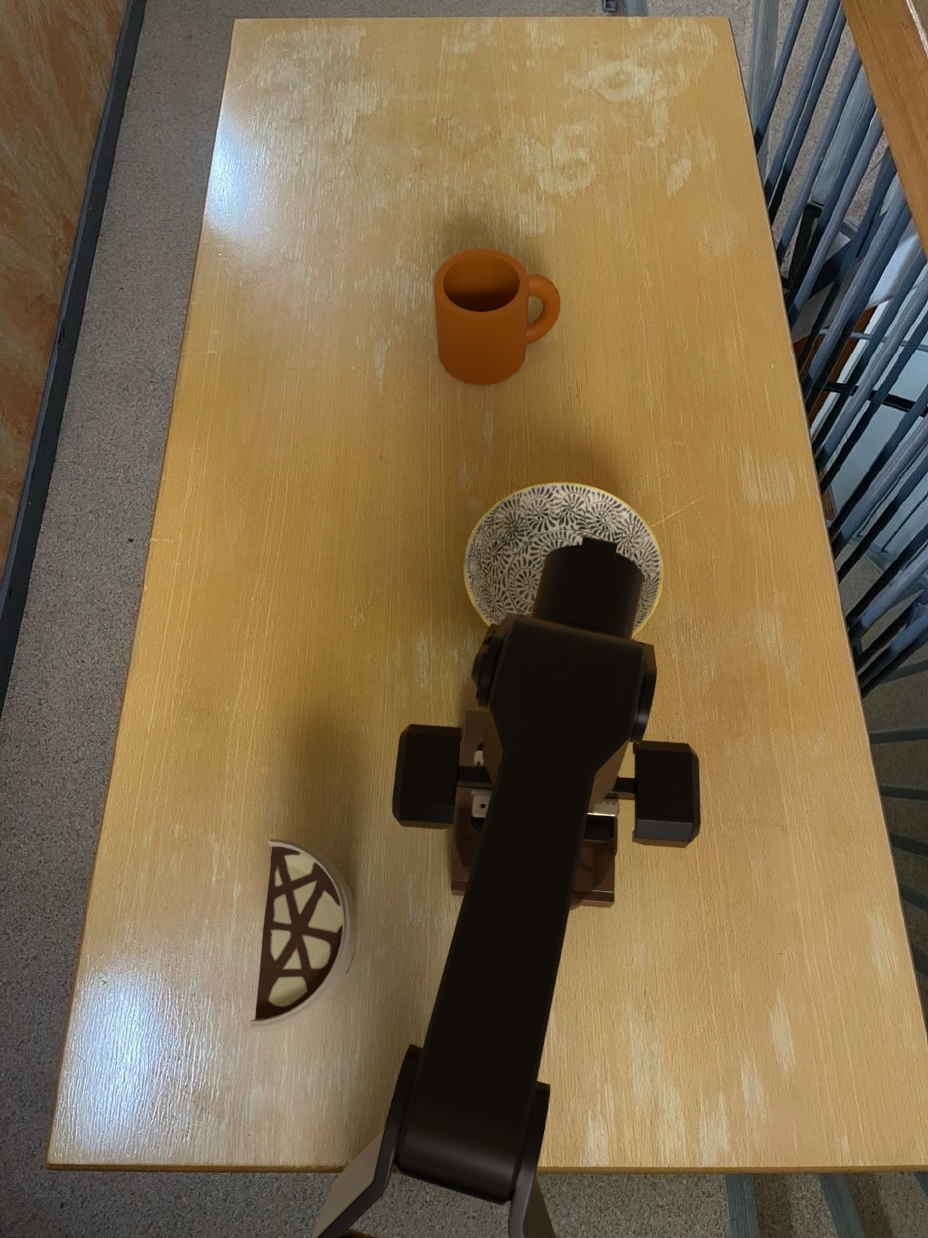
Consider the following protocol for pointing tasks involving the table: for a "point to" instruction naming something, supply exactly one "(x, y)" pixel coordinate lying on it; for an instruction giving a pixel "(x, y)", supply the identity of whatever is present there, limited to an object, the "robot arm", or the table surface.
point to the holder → (594, 859)
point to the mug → (488, 314)
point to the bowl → (552, 545)
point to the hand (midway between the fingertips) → (538, 815)
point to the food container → (302, 936)
